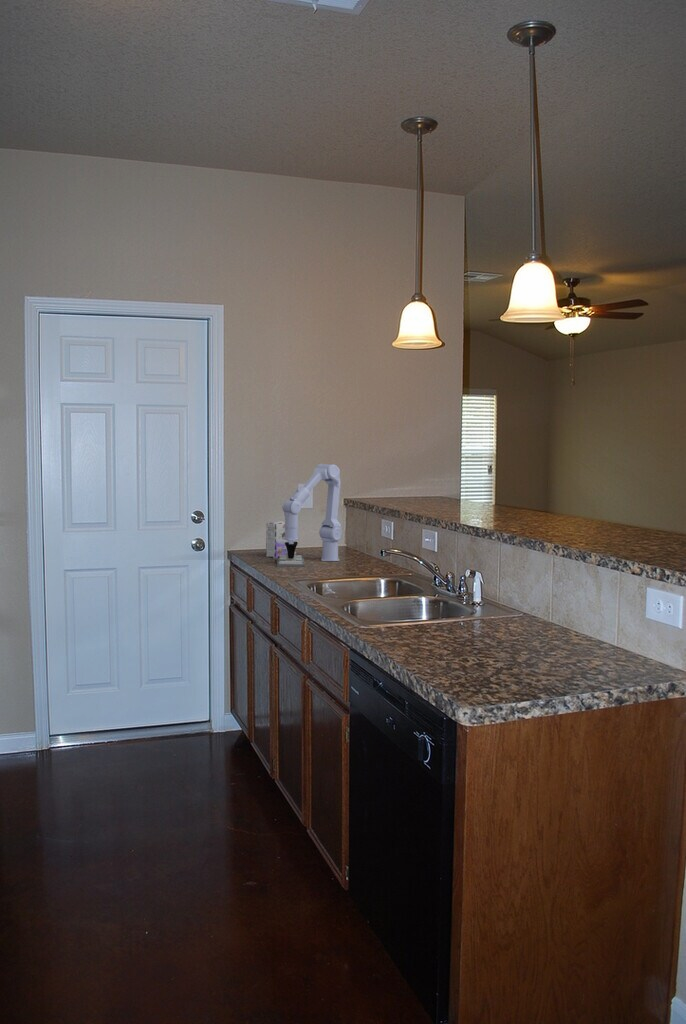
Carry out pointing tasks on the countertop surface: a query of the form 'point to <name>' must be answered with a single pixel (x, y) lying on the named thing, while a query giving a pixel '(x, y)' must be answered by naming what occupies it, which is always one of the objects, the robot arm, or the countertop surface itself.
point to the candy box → (275, 539)
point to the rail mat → (283, 562)
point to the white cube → (290, 559)
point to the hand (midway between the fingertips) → (290, 558)
